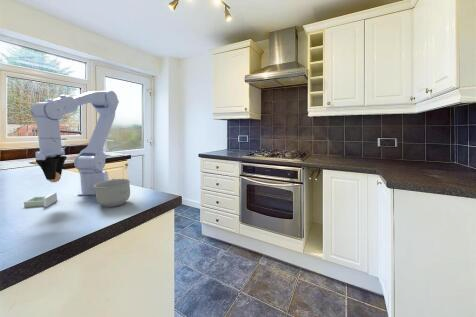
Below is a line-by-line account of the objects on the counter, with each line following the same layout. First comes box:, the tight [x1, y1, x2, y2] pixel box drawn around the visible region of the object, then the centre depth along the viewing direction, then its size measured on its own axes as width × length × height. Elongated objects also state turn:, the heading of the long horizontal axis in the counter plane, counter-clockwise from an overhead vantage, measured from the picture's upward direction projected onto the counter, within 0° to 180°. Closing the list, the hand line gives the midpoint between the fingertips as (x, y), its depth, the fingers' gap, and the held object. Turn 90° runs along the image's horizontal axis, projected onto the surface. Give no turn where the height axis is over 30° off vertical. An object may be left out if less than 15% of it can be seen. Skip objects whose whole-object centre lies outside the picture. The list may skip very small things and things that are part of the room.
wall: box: [43, 192, 58, 208], centre depth 77 cm, size 1×7×3 cm, turn 17°
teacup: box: [94, 178, 131, 208], centre depth 78 cm, size 14×11×8 cm
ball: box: [47, 172, 62, 183], centre depth 75 cm, size 4×4×4 cm
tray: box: [23, 195, 48, 208], centre depth 77 cm, size 6×6×2 cm
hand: (54, 178), depth 75 cm, fingers closed on ball, 4 cm apart
